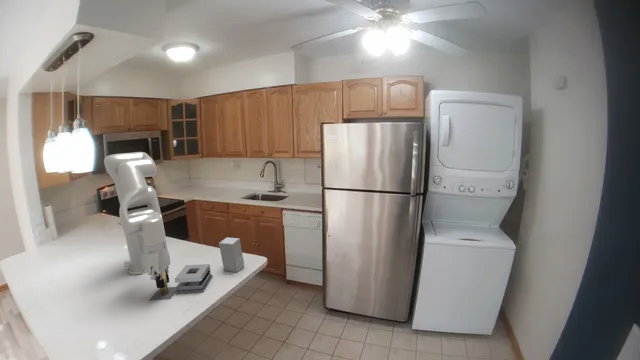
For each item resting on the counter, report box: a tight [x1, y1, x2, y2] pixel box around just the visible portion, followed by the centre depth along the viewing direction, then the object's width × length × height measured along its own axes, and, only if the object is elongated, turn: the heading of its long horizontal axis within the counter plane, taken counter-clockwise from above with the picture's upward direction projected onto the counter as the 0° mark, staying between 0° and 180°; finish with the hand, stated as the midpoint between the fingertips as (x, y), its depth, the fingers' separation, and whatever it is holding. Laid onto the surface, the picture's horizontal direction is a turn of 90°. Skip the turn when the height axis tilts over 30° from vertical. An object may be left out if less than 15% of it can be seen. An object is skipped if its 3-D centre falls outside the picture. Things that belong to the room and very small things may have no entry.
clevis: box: [174, 263, 214, 295], centre depth 122 cm, size 12×12×8 cm
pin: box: [157, 270, 169, 295], centre depth 116 cm, size 3×3×12 cm
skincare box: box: [218, 236, 245, 273], centre depth 135 cm, size 8×7×16 cm
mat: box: [148, 286, 177, 302], centre depth 118 cm, size 9×9×1 cm
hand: (163, 284), depth 117 cm, fingers closed on pin, 3 cm apart
